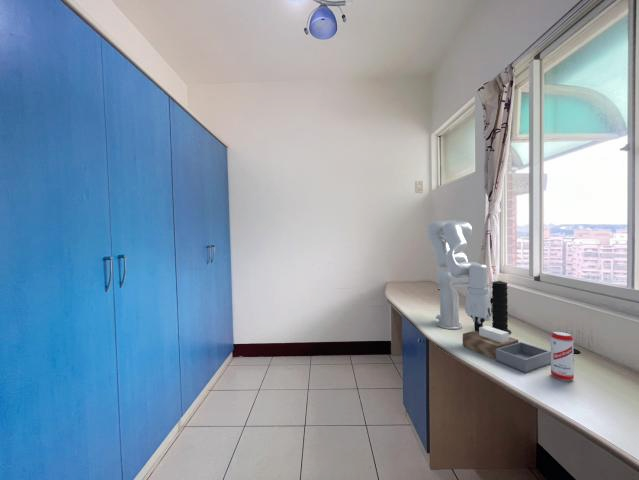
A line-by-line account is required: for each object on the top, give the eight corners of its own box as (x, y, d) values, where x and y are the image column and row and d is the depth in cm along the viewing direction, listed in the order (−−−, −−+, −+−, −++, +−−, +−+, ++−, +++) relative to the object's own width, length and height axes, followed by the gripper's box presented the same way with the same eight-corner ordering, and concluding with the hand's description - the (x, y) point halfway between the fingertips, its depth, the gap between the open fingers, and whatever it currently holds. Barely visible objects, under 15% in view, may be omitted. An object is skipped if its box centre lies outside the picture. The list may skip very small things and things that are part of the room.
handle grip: (493, 333, 146) (515, 334, 144) (492, 282, 145) (514, 282, 143) (486, 327, 155) (506, 328, 153) (485, 279, 155) (506, 279, 153)
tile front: (489, 338, 124) (489, 330, 123) (497, 336, 126) (497, 329, 126) (501, 342, 119) (501, 334, 119) (508, 340, 121) (508, 332, 121)
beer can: (575, 383, 98) (575, 337, 97) (552, 379, 101) (552, 334, 100) (571, 375, 103) (571, 331, 102) (549, 371, 106) (549, 329, 106)
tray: (496, 361, 116) (495, 349, 115) (520, 353, 122) (520, 341, 122) (525, 373, 105) (525, 360, 105) (550, 364, 112) (550, 351, 112)
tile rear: (479, 335, 128) (479, 327, 128) (486, 333, 130) (486, 325, 130) (489, 338, 124) (489, 330, 123) (497, 336, 126) (497, 329, 126)
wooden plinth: (462, 346, 131) (462, 333, 131) (483, 341, 137) (483, 328, 136) (497, 360, 116) (496, 345, 116) (518, 353, 122) (518, 339, 122)
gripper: (458, 289, 136) (458, 327, 136) (488, 295, 122) (488, 337, 123) (469, 287, 139) (469, 325, 139) (499, 293, 125) (499, 334, 126)
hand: (478, 330), depth 131 cm, fingers closed
